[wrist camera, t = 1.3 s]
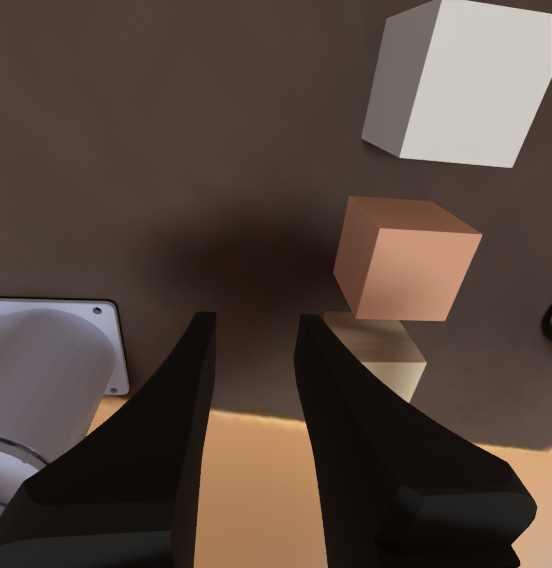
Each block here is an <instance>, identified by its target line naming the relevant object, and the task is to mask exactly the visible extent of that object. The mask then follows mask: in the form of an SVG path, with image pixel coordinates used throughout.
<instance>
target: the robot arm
mask: <svg viewBox="0 0 552 568" xmlns="http://www.w3.org/2000/svg"><path fill="white" fill-rule="evenodd" d="M95 307H97V308H100V309H101V311H99V310H97V309H96V308H95ZM215 362H216V312H197V313H196V314H194V316H193V319H192V321H191V322H190V324H189V326H188V328H187V329H186V331H185V333H184V334H183V336H182V337H181V339H180V340H179V342H178V343H177V344H176V346H175V347H174V349H173V350H172V352H171V353H170V354H169V356H168V357H167V358H166V359H165V361H164V362H163V363H162V364H161V366H160V367H159V368H158V369H157V370H156V372H155V373H154V374H153V375H152V376H151V377H150V379H149V380H148V381H147V382H146V383H145V384H144V385H143V386H142V387H141V388H140V389H139V390H138V391H137V392H136V393H135V394H134V395H133V396H132V397H131V398H130V399H129V400H128V401H127V402H126V403H125V404H124V405H123V406H122V407H121V408H120V409H119V410H118V411H117V412H115V413H114V414H113V415H112V416H111V417H110V418H109V419H107V420H106V421H105V422H104V423H103V424H102V425H100V426H99V427H98V428H96V429H95V430H94V431H93V432H91V433H90V434H89V435H88V436H86V434H87V432H88V429H89V427H90V425H91V422H92V420H93V418H94V415H95V413H96V411H97V408H98V406H99V404H100V401H101V399H102V397H103V395H124V394H127V393H128V391H129V381H128V375H127V369H126V363H125V357H124V352H123V346H122V340H121V334H120V328H119V322H118V316H117V310H116V307H115V305H114V304H113V303H111V302H108V301H81V300H45V299H9V298H0V568H193V567H194V553H195V552H194V551H195V539H196V526H197V512H198V499H199V487H200V475H201V462H202V454H203V447H204V441H205V435H206V429H207V424H208V418H209V412H210V406H211V400H212V394H213V388H214V378H215ZM294 367H295V376H296V383H297V388H298V393H299V397H300V401H301V405H302V409H303V413H304V417H305V421H306V425H307V429H308V433H309V437H310V441H311V445H312V450H313V455H314V461H315V468H316V475H317V482H318V489H319V496H320V503H321V511H322V519H323V527H324V536H325V545H326V554H327V563H328V568H518V567H519V566H520V560H519V558H518V557H517V555H516V553H515V551H514V550H513V548H512V546H511V544H512V543H513V542H514V541H515V540H516V539H517V538H518V537H519V536H520V535H521V534H522V533H523V532H524V531H525V530H526V529H527V528H528V527H529V526H530V524H531V523H532V521H533V520H534V519H535V515H536V511H537V505H536V503H535V500H534V499H533V498H532V496H531V495H530V493H529V492H528V490H527V489H526V488H525V486H524V485H523V483H522V482H521V480H520V479H519V478H518V476H517V475H516V473H515V472H514V470H513V469H512V468H511V466H510V465H509V464H508V463H507V462H506V461H504V460H502V459H500V458H499V457H497V456H495V455H493V454H491V453H489V452H487V451H485V450H483V449H482V448H480V447H478V446H476V445H474V444H472V443H470V442H468V441H467V440H465V439H463V438H462V437H460V436H458V435H457V434H455V433H453V432H452V431H450V430H448V429H447V428H445V427H443V426H442V425H440V424H439V423H437V422H436V421H434V420H432V419H431V418H429V417H428V416H426V415H425V414H424V413H422V412H421V411H419V410H418V409H416V408H415V407H414V406H412V405H411V404H409V403H408V402H407V401H405V400H404V399H403V398H401V397H400V396H399V395H397V394H396V393H395V392H394V391H393V390H391V389H390V388H389V387H388V386H387V385H385V384H384V383H383V382H382V381H381V380H379V379H378V378H377V377H376V376H375V375H374V374H373V373H372V372H371V371H370V370H369V369H367V368H366V367H365V366H364V365H363V364H362V363H361V362H360V361H359V360H358V359H357V358H356V357H355V356H354V355H353V354H352V353H351V351H350V350H349V349H348V348H347V347H346V346H345V345H344V344H343V343H342V342H341V340H340V339H339V338H338V337H337V336H336V335H335V334H334V332H333V331H332V330H331V329H330V328H329V327H328V325H327V324H326V323H325V322H324V321H323V319H322V318H321V317H320V316H319V315H313V314H301V318H300V323H299V329H298V335H297V341H296V347H295V353H294ZM114 388H115V389H114Z"/></svg>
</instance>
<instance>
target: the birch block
mask: <svg viewBox="0 0 552 568" xmlns="http://www.w3.org/2000/svg"><path fill="white" fill-rule="evenodd" d="M323 321H324V322H325V323H326V324H327V325H328V327H329V328H330V329H331V330H332V331H333V332H334V334H335V335H336V336H337V337H338V338H339V339H340V340H341V342H342V343H343V344H344V345H345V346H346V347H347V348H348V349H349V350H350V351H351V353H352V354H353V355H354V356H355V357H356V358H357V359H358V360H359V361H360V362H361V363H362V364H363V365H364V366H365V367H366V368H367V369H369V370H370V371H371V372H372V373H373V374H374V375H375V376H376V377H377V378H378V379H379V380H381V381H382V382H383V383H384V384H385V385H387V386H388V387H389V388H390V389H391V390H393V391H394V392H395V393H396V394H397V395H399V396H400V397H401V398H403V399H404V400H405V401H407V402H408V403H409V402H410V400H411V397H412V395H413V393H414V391H415V388H416V386H417V384H418V381H419V379H420V377H421V375H422V372H423V370H424V368H425V366H426V363H427V362H426V361H425V359H424V358H423V356H422V355H421V353H420V351H419V350H418V348H417V347H416V345H415V344H414V342H413V341H412V339H411V338H410V336H409V335H408V333H407V332H406V330H405V329H404V327H403V325H402V324H401V322H400V321H399V320H382V319H355V317H354V315H353V313H352V311H325V313H324V318H323Z"/></svg>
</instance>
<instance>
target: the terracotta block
mask: <svg viewBox="0 0 552 568" xmlns="http://www.w3.org/2000/svg"><path fill="white" fill-rule="evenodd" d="M482 235H483V234H481V233H480V232H478V231H477V230H475V229H474V228H472V227H470V226H469V225H467V224H466V223H464V222H463V221H461V220H460V219H458V218H457V217H455V216H453V215H452V214H450V213H449V212H447V211H446V210H444V209H443V208H441V207H440V206H438V205H436V204H435V203H433V202H432V201H420V200H406V199H392V198H379V197H365V196H351V195H349V199H348V204H347V209H346V214H345V218H344V223H343V228H342V233H341V237H340V242H339V247H338V252H337V256H336V261H335V266H334V270H333V273H334V275H335V277H336V280H337V282H338V284H339V286H340V288H341V290H342V292H343V294H344V296H345V298H346V300H347V302H348V304H349V306H350V308H351V311H352V313H353V315H354V317H355V319H382V320H425V321H445V320H446V317H447V315H448V313H449V311H450V308H451V306H452V304H453V301H454V299H455V297H456V295H457V292H458V290H459V288H460V285H461V283H462V281H463V279H464V276H465V274H466V272H467V269H468V267H469V265H470V263H471V260H472V258H473V256H474V253H475V251H476V249H477V247H478V244H479V242H480V240H481V237H482Z"/></svg>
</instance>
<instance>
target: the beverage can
mask: <svg viewBox="0 0 552 568" xmlns="http://www.w3.org/2000/svg"><path fill="white" fill-rule="evenodd" d="M549 336H550V340H551V342H552V316H551V319H550V331H549Z"/></svg>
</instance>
